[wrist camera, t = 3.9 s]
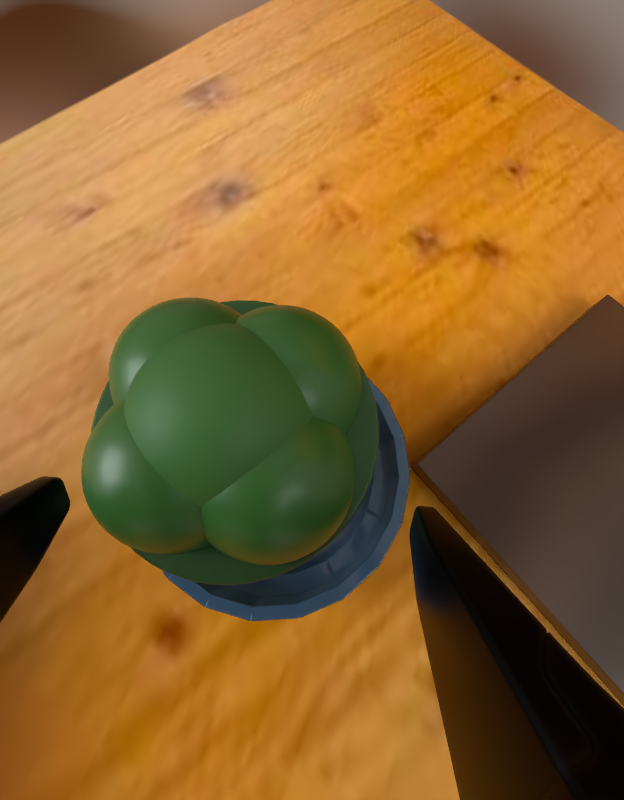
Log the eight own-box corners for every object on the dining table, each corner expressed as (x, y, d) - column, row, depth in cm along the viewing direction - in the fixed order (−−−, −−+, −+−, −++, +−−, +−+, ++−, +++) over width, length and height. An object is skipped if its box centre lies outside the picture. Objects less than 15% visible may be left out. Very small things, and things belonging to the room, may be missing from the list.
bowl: (436, 490, 19) (467, 484, 15) (258, 653, 17) (241, 695, 13) (297, 335, 21) (293, 296, 18) (128, 459, 19) (82, 446, 16)
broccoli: (371, 482, 18) (496, 416, 6) (266, 574, 17) (128, 747, 4) (289, 386, 20) (245, 165, 7) (188, 464, 19) (-79, 363, 6)
